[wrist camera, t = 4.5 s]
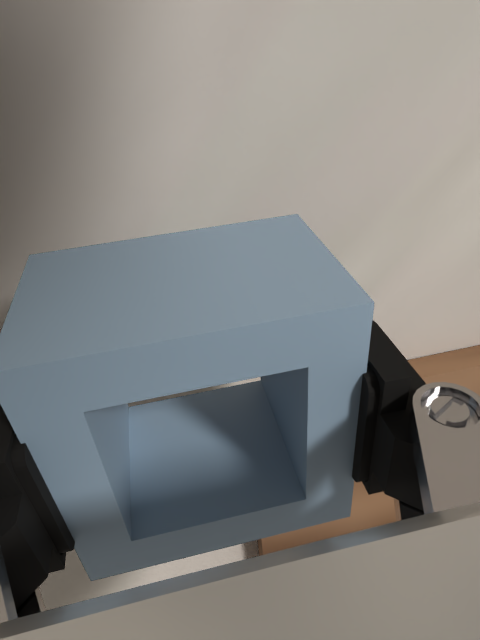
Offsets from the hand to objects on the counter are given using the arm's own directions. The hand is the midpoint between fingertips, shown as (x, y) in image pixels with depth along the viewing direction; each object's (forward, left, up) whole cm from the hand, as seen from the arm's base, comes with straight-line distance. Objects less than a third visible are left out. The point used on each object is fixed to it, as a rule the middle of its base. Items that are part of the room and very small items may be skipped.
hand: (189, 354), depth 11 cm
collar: (0, 0, -1) cm, 1 cm away
